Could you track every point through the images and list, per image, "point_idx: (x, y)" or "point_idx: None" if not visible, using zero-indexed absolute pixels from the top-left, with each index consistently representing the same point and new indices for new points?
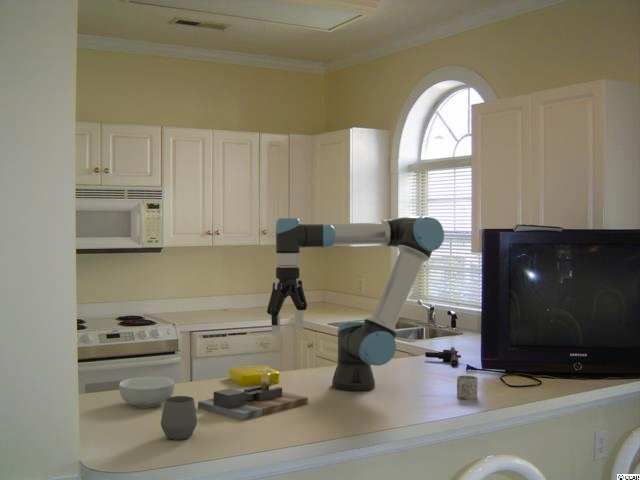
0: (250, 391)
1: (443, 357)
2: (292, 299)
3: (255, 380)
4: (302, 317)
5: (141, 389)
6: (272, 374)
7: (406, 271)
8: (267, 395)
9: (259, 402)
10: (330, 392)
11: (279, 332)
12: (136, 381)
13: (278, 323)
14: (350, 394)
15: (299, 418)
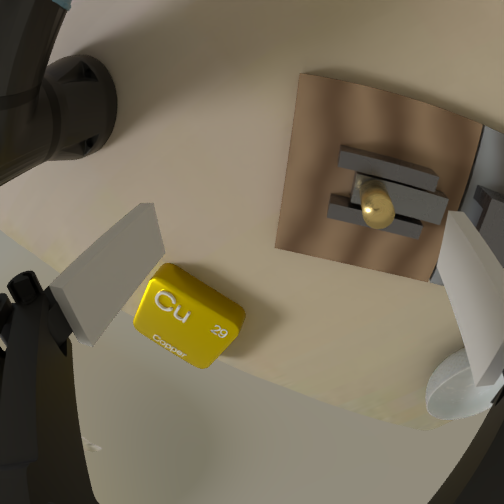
0: (417, 217)
1: None
2: (78, 443)
3: (216, 300)
4: (93, 249)
5: None
6: (173, 283)
7: None
8: (405, 163)
9: (437, 165)
10: (151, 104)
11: (467, 223)
12: (443, 412)
13: (500, 270)
14: (136, 53)
15: (451, 23)
